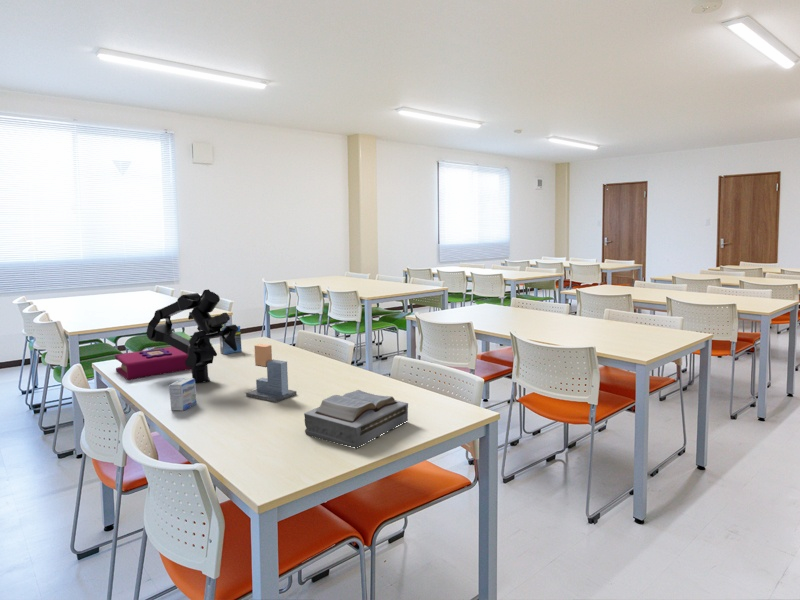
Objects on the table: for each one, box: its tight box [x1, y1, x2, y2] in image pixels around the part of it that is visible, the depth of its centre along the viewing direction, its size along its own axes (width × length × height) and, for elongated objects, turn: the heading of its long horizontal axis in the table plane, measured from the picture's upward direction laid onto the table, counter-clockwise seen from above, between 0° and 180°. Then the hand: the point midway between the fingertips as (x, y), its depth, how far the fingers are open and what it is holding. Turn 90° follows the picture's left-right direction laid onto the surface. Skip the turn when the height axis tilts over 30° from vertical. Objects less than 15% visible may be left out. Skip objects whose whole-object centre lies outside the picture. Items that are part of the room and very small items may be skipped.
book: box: [114, 346, 192, 381], centre depth 225 cm, size 21×28×8 cm
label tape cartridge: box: [219, 325, 243, 355], centre depth 254 cm, size 9×4×12 cm, turn 130°
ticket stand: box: [245, 358, 298, 403], centre depth 187 cm, size 14×10×12 cm
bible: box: [303, 389, 409, 448], centre depth 156 cm, size 23×27×10 cm
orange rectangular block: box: [254, 343, 273, 368], centre depth 188 cm, size 5×3×7 cm, turn 59°
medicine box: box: [168, 377, 198, 412], centre depth 176 cm, size 8×4×9 cm, turn 168°
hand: (226, 353), depth 197 cm, fingers open, 9 cm apart
